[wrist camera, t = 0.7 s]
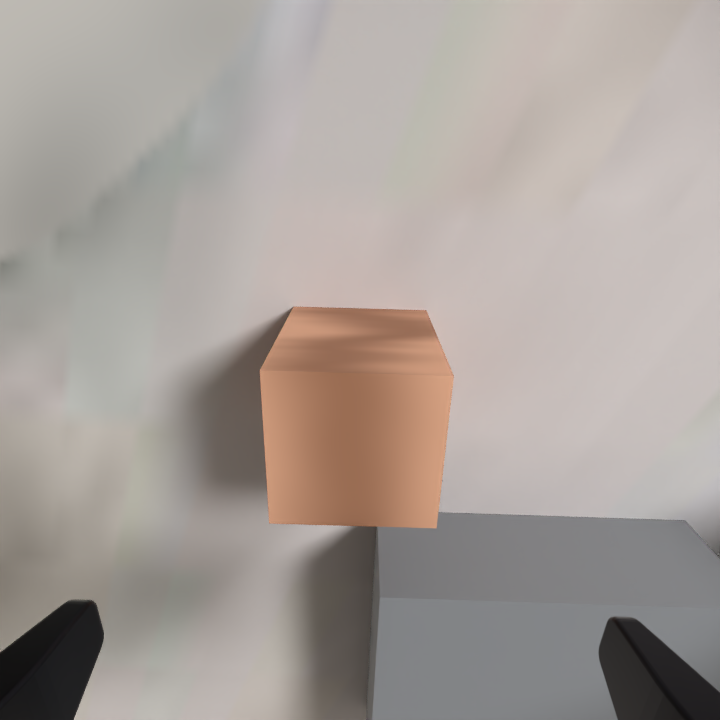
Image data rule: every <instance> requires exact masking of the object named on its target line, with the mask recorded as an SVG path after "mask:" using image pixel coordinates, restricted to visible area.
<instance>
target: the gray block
mask: <svg viewBox="0 0 720 720" xmlns="http://www.w3.org/2000/svg"><path fill="white" fill-rule="evenodd" d="M613 616H620V617H633V618H635V619H637V620H639V621H640V622H641V623H642V624H643V625H645V626H646V627H647V628H648V629H649V630H650V631H651V632H652V633H654V634H655V635H656V636H657V637H658V638H659V639H660V640H662V641H663V642H664V643H665V644H666V645H667V646H668V647H669V648H671V649H672V650H673V651H674V652H675V653H676V654H677V655H679V656H680V657H681V658H682V659H683V660H684V661H685V662H687V663H688V664H689V665H690V666H691V667H692V668H693V669H694V670H696V671H697V672H698V673H699V674H700V675H701V676H702V677H704V678H705V679H706V680H707V681H708V682H709V683H710V684H711V685H713V686H714V687H715V688H716V689H717V690H718V691H719V692H720V558H719V557H718V556H717V555H716V554H715V553H714V552H713V551H712V550H711V548H710V547H709V546H708V545H707V544H706V543H705V542H704V541H703V540H702V539H701V537H700V536H699V535H698V534H697V533H696V532H695V531H694V530H693V529H692V528H691V526H690V525H689V524H688V523H687V522H686V521H685V520H655V519H624V518H594V517H564V516H534V515H503V514H473V513H443V512H438V520H437V528H408V527H376V542H375V560H374V579H373V597H372V616H371V634H370V652H369V671H368V689H367V720H618V719H617V716H616V713H615V710H614V706H613V703H612V700H611V697H610V694H609V690H608V687H607V684H606V681H605V677H604V674H603V671H602V668H601V665H600V661H599V653H598V652H599V645H600V642H601V639H602V636H603V633H604V629H605V626H606V623H607V621H608V619H609V618H610V617H613Z"/></svg>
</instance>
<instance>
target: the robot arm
mask: <svg viewBox="0 0 720 720" xmlns="http://www.w3.org/2000/svg"><path fill="white" fill-rule="evenodd" d="M103 638H104V631H103V627H102V623H101V620H100V616H99V612H98V609H97V605H96V603H95V602H94V601H92V600H70V601H68V602H66V603H64V604H63V605H61V606H60V607H59V608H57V609H56V610H55V611H54V612H52V613H51V614H50V615H48V616H47V617H46V618H44V619H43V620H42V621H40V622H39V623H38V624H37V625H35V626H34V627H33V628H31V629H30V630H29V631H27V632H26V633H25V634H24V635H22V636H21V637H20V638H18V639H17V640H16V641H14V642H13V643H12V644H11V645H9V646H8V647H7V648H5V649H4V650H3V651H1V652H0V720H74V717H75V715H76V712H77V710H78V707H79V704H80V702H81V699H82V697H83V694H84V691H85V689H86V686H87V684H88V681H89V678H90V676H91V673H92V671H93V668H94V665H95V663H96V660H97V658H98V655H99V652H100V650H101V647H102V644H103ZM598 653H599V661H600V665H601V668H602V671H603V674H604V677H605V681H606V684H607V687H608V690H609V694H610V697H611V700H612V703H613V706H614V710H615V713H616V716H617V719H618V720H720V692H719V691H718V690H717V689H716V688H715V687H714V686H713V685H711V684H710V683H709V682H708V681H707V680H706V679H705V678H704V677H702V676H701V675H700V674H699V673H698V672H697V671H696V670H694V669H693V668H692V667H691V666H690V665H689V664H688V663H687V662H685V661H684V660H683V659H682V658H681V657H680V656H679V655H677V654H676V653H675V652H674V651H673V650H672V649H671V648H669V647H668V646H667V645H666V644H665V643H664V642H663V641H662V640H660V639H659V638H658V637H657V636H656V635H655V634H654V633H652V632H651V631H650V630H649V629H648V628H647V627H646V626H645V625H643V624H642V623H641V622H640V621H639V620H637V619H635V618H633V617H620V616H613V617H610V618H609V619H608V621H607V623H606V626H605V629H604V633H603V636H602V639H601V642H600V645H599V652H598Z"/></svg>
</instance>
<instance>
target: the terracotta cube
mask: <svg viewBox="0 0 720 720" xmlns="http://www.w3.org/2000/svg"><path fill="white" fill-rule="evenodd" d="M453 378H454V375H453V373H452V371H451V368H450V366H449V364H448V361H447V359H446V356H445V354H444V352H443V349H442V347H441V344H440V342H439V340H438V337H437V335H436V333H435V330H434V328H433V325H432V323H431V321H430V318H429V316H428V313H427V311H426V310H393V309H358V308H322V307H293V309H292V311H291V312H290V314H289V316H288V318H287V320H286V322H285V324H284V326H283V327H282V329H281V331H280V333H279V335H278V337H277V339H276V341H275V342H274V344H273V346H272V348H271V350H270V352H269V354H268V356H267V358H266V359H265V361H264V363H263V365H262V367H261V369H260V384H261V400H262V416H263V432H264V448H265V463H266V479H267V495H268V511H269V523H273V524H307V525H340V526H374V527H408V528H437V520H438V511H439V502H440V493H441V484H442V475H443V466H444V458H445V449H446V440H447V431H448V422H449V413H450V405H451V396H452V387H453Z"/></svg>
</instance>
